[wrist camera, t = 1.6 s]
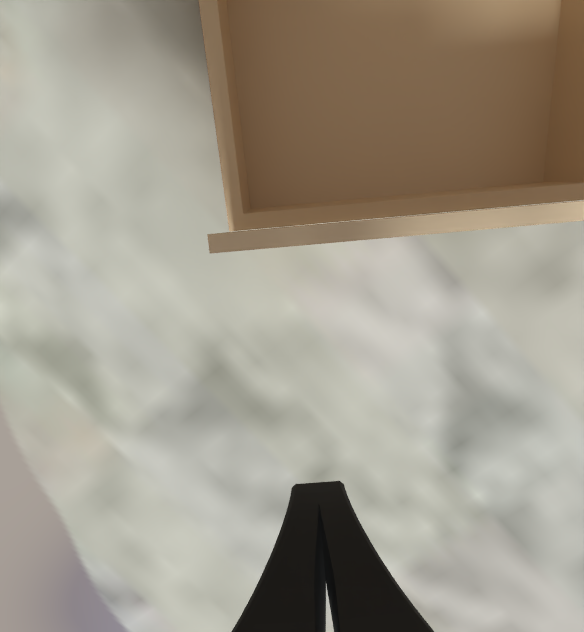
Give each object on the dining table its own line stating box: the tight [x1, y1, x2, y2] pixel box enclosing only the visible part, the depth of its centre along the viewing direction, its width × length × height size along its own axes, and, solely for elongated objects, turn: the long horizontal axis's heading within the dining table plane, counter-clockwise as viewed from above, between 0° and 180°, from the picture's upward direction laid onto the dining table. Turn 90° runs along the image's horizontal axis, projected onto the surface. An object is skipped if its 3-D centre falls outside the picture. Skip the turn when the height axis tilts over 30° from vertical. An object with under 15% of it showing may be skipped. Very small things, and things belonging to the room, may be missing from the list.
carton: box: [198, 0, 584, 231], centre depth 15 cm, size 14×13×4 cm
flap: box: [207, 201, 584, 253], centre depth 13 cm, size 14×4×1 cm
